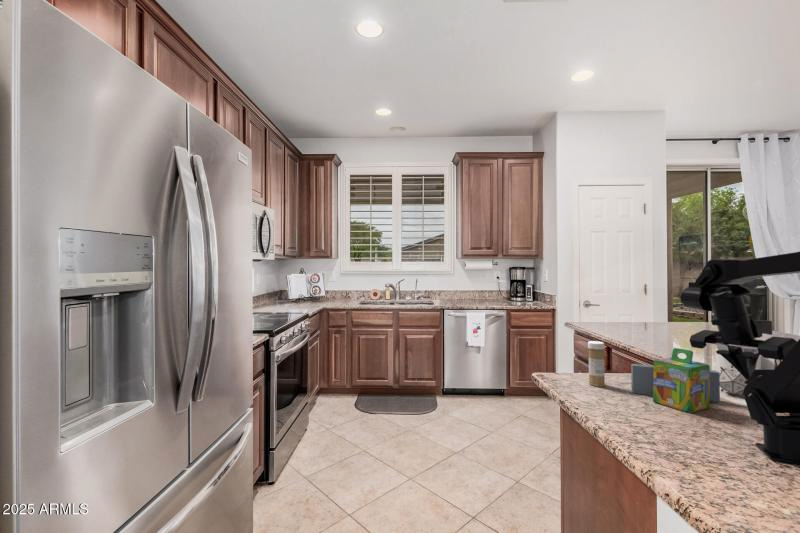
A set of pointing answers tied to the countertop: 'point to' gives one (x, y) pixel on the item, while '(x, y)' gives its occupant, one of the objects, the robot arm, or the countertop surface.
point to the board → (645, 377)
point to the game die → (732, 381)
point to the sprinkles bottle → (596, 363)
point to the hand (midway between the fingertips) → (750, 379)
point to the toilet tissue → (722, 362)
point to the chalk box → (681, 382)
